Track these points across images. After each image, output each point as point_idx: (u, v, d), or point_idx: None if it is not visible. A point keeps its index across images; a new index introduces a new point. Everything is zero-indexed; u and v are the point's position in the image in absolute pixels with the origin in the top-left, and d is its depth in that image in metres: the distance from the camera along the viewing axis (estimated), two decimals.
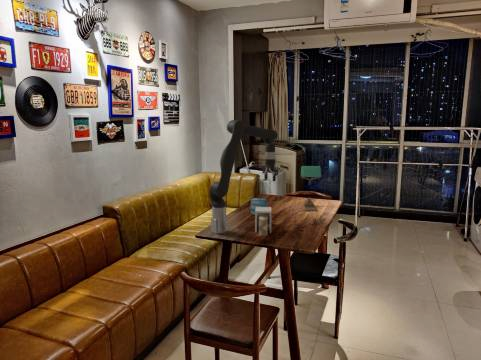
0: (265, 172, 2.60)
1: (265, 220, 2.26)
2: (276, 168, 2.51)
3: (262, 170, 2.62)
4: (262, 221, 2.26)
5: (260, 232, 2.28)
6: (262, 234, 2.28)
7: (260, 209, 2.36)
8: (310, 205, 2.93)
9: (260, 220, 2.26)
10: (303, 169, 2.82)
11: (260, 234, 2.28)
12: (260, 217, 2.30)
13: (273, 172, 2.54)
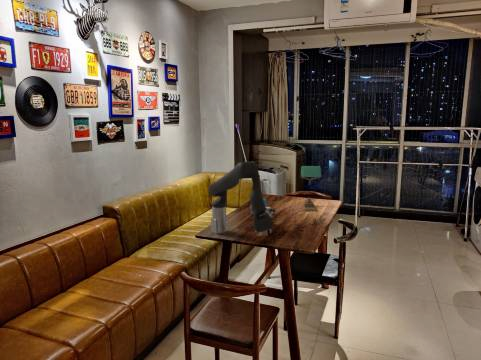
0: None
1: None
2: (251, 212, 2.07)
3: None
4: None
5: (260, 232, 2.28)
6: (262, 234, 2.28)
7: None
8: (310, 205, 2.93)
9: None
10: (303, 169, 2.82)
11: (260, 234, 2.28)
12: None
13: None
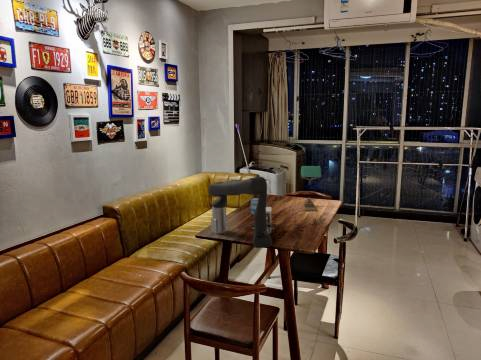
0: (267, 224, 2.26)
1: None
2: (252, 227, 2.23)
3: (272, 224, 2.25)
4: None
5: None
6: None
7: None
8: (310, 205, 2.93)
9: None
10: (303, 169, 2.82)
11: None
12: None
13: None
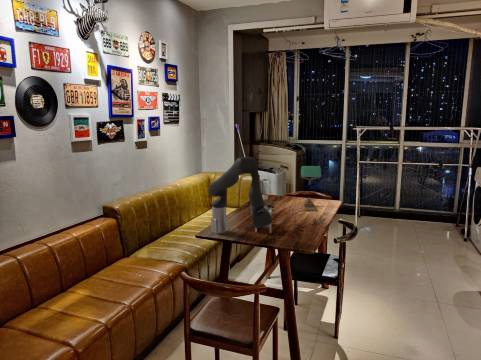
0: (267, 204, 2.13)
1: (265, 200, 2.13)
2: (251, 207, 2.10)
3: None
4: None
5: None
6: None
7: None
8: (310, 205, 2.93)
9: None
10: (303, 169, 2.82)
11: None
12: None
13: None
